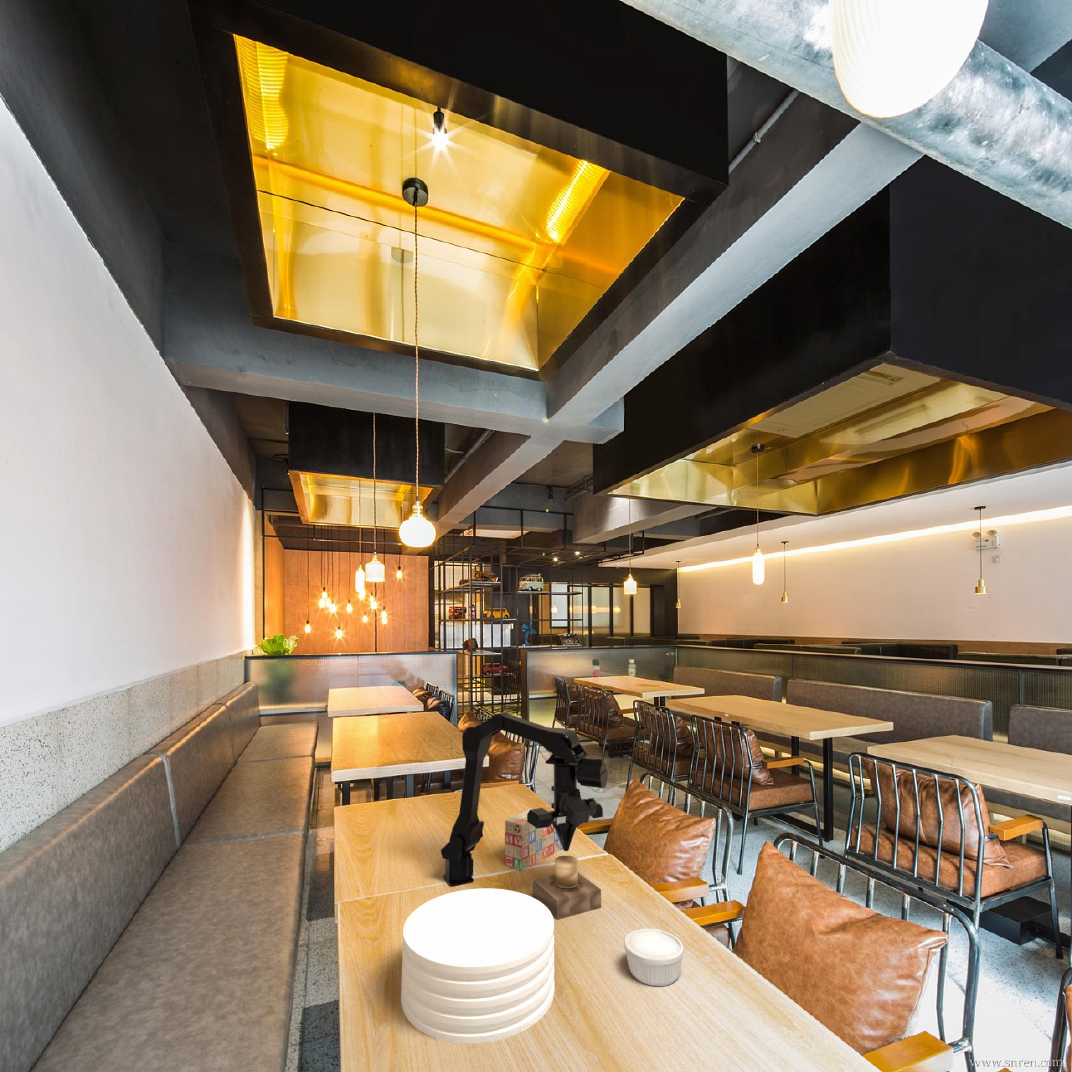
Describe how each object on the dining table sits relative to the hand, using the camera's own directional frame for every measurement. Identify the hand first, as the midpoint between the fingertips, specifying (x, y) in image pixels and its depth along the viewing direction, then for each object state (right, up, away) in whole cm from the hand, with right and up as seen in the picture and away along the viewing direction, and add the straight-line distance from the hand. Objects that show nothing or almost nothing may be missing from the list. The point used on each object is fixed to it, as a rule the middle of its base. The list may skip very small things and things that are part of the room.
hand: (565, 850), depth 141 cm
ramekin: (+16, -8, -30) cm, 34 cm away
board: (0, -12, -2) cm, 12 cm away
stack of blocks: (-7, -16, +26) cm, 31 cm away
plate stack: (-18, -7, -34) cm, 39 cm away
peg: (0, -11, -2) cm, 11 cm away
